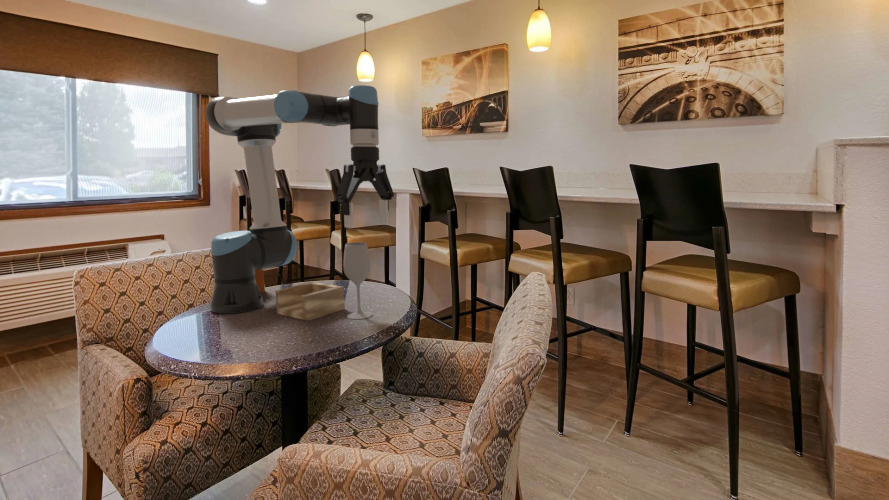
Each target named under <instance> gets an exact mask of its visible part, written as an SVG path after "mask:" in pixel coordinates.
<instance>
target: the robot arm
mask: <svg viewBox="0 0 889 500" xmlns="http://www.w3.org/2000/svg"><path fill="white" fill-rule="evenodd" d="M348 88H349V89H348V93H347V95H346V96H330V95H322V94H316V93H310V92H304V91H303V92H302V91H298V90H292V89H291V90H286V89H285V90H284V89H283V90H281V91H279V92H278V93H277V94H272V95H271V94H270V95H262V96H253V97H245V98H241V97H239V98H238V97H233V96H219V97H215V98H213V99H211V100H210V101H209V102H208V103H207V105H206V107H205V110H204V111H205V112H204V114H205V120H206V122H207V124H208V125H209V127H210V128H211V129H212V130H213V131H215V132H216V133H219V134H220V135H224V136H228V137H229V136H230V137H236V138H237V139H236V140H237V144H238V145H239V146H240V147H241V148H242V149H243V153H244V160H245V167H246V168H245V169H246V175H247V184H248V190H249V197H250V203H251V204H250V205H251V212H252V219H253V222H252V223H253V224H251V226H250V227H249V230H236V231H229V232H225V233H221V234H218V235H216V236H215V237H214V238H212V240H211V243H210V244H211V248H210V249H211V250H210V254H211V257H212V259H211V260H212V268H213V269H212V270H213V278H214V287H213V292H212V294H211V300H210V303H209V304H210V311H211V312H212V313H216V314H238V313H246V312H249V311H253V310H257V309H259V308H261V307H263V305H264V299H263V296H262V293H260V291H259V289H258V286H257V284H256V282H255V270H261V269H263V270H266V269H270V268H271V269H272V268H279V267H281V266H285V265H288V264H290V263H291V262H292V261H293V259H294V258H295V257H296V254H297V248H298V244H297V243H298V242H297V238H296V236H295V235H294V232H293V231H291V230H289V229H288V226H287V225H288V224H286V223H285V222H284V221H282V216H281V215H282V214H281V208H280V200H279V199H280V198H279V194H278V185H277V178H276V170H275V169H276V168H275V162H274V155H273V154H274V153H273V146H274V145H275V143H276V142H277V140H276V139H277V137H278V136H279V135H280V133H281V129H282V124H296V123H297V124H298V123H303V124H304V123H305V124H314V125H315V124H317V125H322V126H325V127H337V126H347V125H349V133H350V135H349V137H350V139H349V140H350V143H349V144H350V145H351V147H350V160H351V161H352V162H353V163H352V164H344V165H343V173H342V177H341V179H340V182H339V186H338V189H337V192H336V195H335V200H336V201H338V202H339V203H341V208H342V209H341V211H342V212H341V213H342V216H343V221H344V222H343V223H344V228H348V229H354V228H355V224H354V223H355V222H354V221H355V219H354V203H353V202H351V201H352V199H353V198H354V196H355V194H356V192H357V190H358V189H359V187H360V185H361V184H362V183H363V182H369V183H371V185H372V186H373V188H374V190H375V192H376V193H377V195H378V196H379V197H380V199H378V216H379V218H378V219H379V223H380V224H389V210H390V202H389V201H390V200H392V199H393V197H394V196H395V193H394V191H393V188H392V185H391V182H390V180H389V177H388V174H387V173H388V172H387V169H386V164H384V163H383V164H378V161H380V148H379V147H378V145H379V142H380V139H379V100H378V99H379V97H378V90H377V88H375V86H372V85H366V84H363V85H361V84H360V85H359V84H358V85H357V84H356V85H351V86H349V87H348Z"/></svg>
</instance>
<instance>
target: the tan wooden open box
mask: <svg viewBox="0 0 889 500" xmlns="http://www.w3.org/2000/svg"><path fill="white" fill-rule="evenodd" d="M274 291H275V292H274V293H275V305H276V306H275V307H276V314H277V315H281V316H285V317H290V318H294V319H299V320H303V321H309V322H310V321H312V320H314V319H319V318H321V317H325V316H328V315H331V314H334V313H337V312H340V311H344V310H345V309H346V308H345V307H346V305H345V302H346V301H345V286H342V285H341V286H340V285H336V284H335V285H334V284H328V283H322V282H316V281H310V282H306V283H302V284H297V285H293V286H290V287H285V288H281V289H277V290H274Z"/></svg>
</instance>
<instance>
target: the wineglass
mask: <svg viewBox="0 0 889 500" xmlns="http://www.w3.org/2000/svg"><path fill="white" fill-rule="evenodd" d="M370 257H371V256H370V252H369V247H368V243H367V242H360V241H359V242H358V241H357V242H348V243H345V245H344V251H343V264H342V265H343V273H344V275H345V276H346V277H347V279H348V280H349V281H351V282H352V283H353V284H354V285H355V286H356V297H357V309H356V311H355V312H350V313H348V314H346V319H349V320H366V319H368V318H371V317H372V316H373V313H372V312H369V311H363V310H362V309H361V295H360V294H361V293H360V292H361V291H360V287H361V284H362V283H363V282H364V281H365V280H366V279H367V278H368V276H369V275H370V273H371V265H372V264H371V258H370Z"/></svg>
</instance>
